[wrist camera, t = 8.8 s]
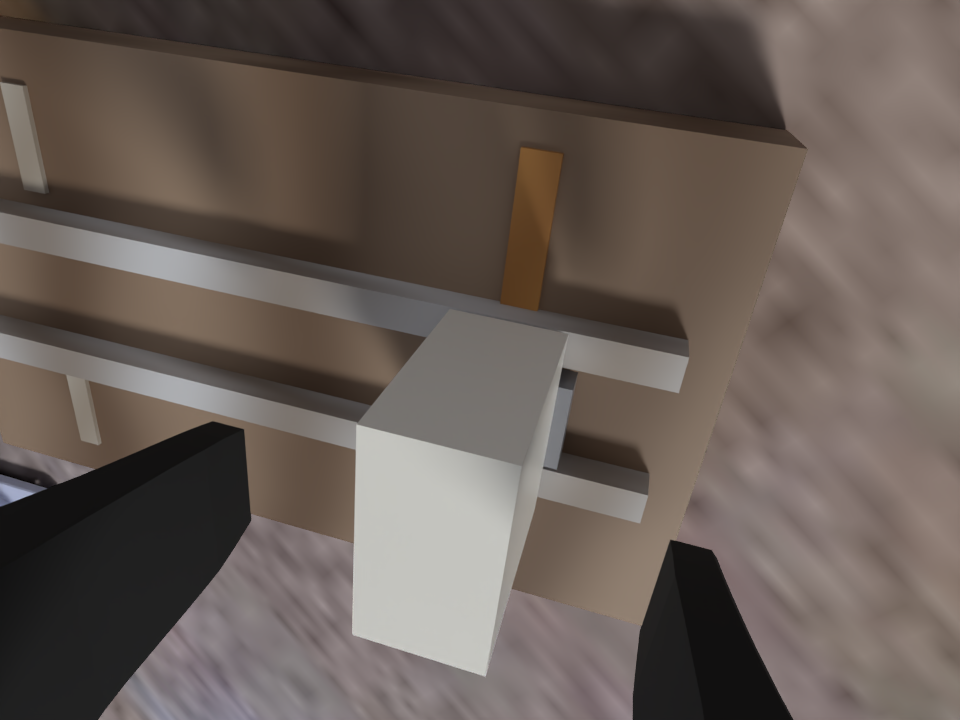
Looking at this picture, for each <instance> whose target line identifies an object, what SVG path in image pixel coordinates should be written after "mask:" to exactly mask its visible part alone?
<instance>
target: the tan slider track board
mask: <svg viewBox="0 0 960 720" xmlns="http://www.w3.org/2000/svg"><path fill="white" fill-rule="evenodd" d="M807 150H808V149H807V148H806V147H805V146H804V145H803V144H802V143H801V142H800V141H798V140H797V139H796V138H795V137H794V136H793V135H792V134H791V133H790V132H788V131H787V130H782V129H775V128H768V127H761V126H755V125H748V124H741V123H734V122H727V121H720V120H713V119H706V118H699V117H693V116H686V115H679V114H672V113H665V112H658V111H651V110H644V109H638V108H631V107H624V106H617V105H610V104H603V103H596V102H589V101H582V100H576V99H569V98H562V97H555V96H548V95H541V94H534V93H527V92H521V91H514V90H507V89H500V88H493V87H486V86H479V85H472V84H466V83H459V82H452V81H445V80H438V79H431V78H424V77H417V76H410V75H404V74H397V73H390V72H383V71H376V70H369V69H362V68H355V67H349V66H342V65H335V64H328V63H321V62H314V61H307V60H300V59H294V58H287V57H280V56H273V55H266V54H259V53H252V52H245V51H238V50H232V49H225V48H218V47H211V46H204V45H197V44H190V43H183V42H177V41H170V40H163V39H156V38H149V37H142V36H135V35H128V34H121V33H115V32H108V31H101V30H94V29H87V28H80V27H73V26H66V25H60V24H53V23H46V22H39V21H32V20H25V19H18V18H11V17H5V16H0V432H1V435H2V439H3V442H4V443H7V444H10V445H14V446H17V447H21V448H24V449H28V450H31V451H34V452H38V453H41V454H45V455H48V456H52V457H55V458H59V459H62V460H66V461H69V462H73V463H76V464H80V465H83V466H87V467H90V468H94V469H98V468H100V467H102V466H105V465H107V464H109V463H112V462H114V461H117V460H119V459H121V458H124V457H126V456H128V455H131V454H133V453H135V452H138V451H140V450H142V449H145V448H147V447H149V446H152V445H154V444H156V443H159V442H161V441H163V440H166V439H168V438H171V437H173V436H175V435H178V434H180V433H183V432H185V431H187V430H190V429H192V428H195V427H198V426H200V425H203V424H206V423H209V422H211V421H214V422H218V423H222V424H226V425H230V426H234V427H238V428H242V429H244V433H245V446H246V459H247V472H248V485H249V498H250V511H251V514H254V515H257V516H261V517H264V518H268V519H271V520H275V521H278V522H282V523H285V524H289V525H292V526H295V527H299V528H302V529H306V530H309V531H313V532H316V533H320V534H323V535H327V536H330V537H334V538H337V539H341V540H344V541H348V542H351V543H354V518H355V468H356V424H357V423H358V422H359V421H360V419H361V418H362V417H363V416H364V414H365V413H366V412H367V411H368V409H369V408H370V407H371V406H372V404H373V403H374V402H375V401H376V400H377V398H378V397H379V396H380V395H381V393H382V392H383V391H384V390H385V388H386V387H387V386H388V385H389V383H390V382H391V381H392V380H393V379H394V377H395V376H396V375H397V374H398V372H399V371H400V370H401V369H402V367H403V366H404V365H405V364H406V362H407V361H408V360H409V359H410V358H411V356H412V355H413V354H414V353H415V351H416V350H417V349H418V348H419V346H420V345H421V344H422V343H423V341H424V340H425V339H426V338H427V336H428V335H429V334H430V333H431V332H432V330H433V329H434V328H435V327H436V325H437V324H438V323H439V322H440V320H441V319H442V318H443V317H444V315H445V314H446V313H447V312H448V311H449V309H453V310H457V311H462V312H467V313H472V314H476V315H481V316H486V317H491V318H495V319H500V320H505V321H510V322H514V323H519V324H524V325H528V326H533V327H538V328H543V329H547V330H552V331H557V332H562V333H566V334H568V339H567V345H566V350H565V355H564V360H563V365H562V369H565V370H570V371H574V372H578V376H577V380H576V385H575V390H574V395H573V400H572V405H571V410H570V414H569V419H568V424H567V429H566V434H565V439H564V443H563V448H562V452H561V456H560V460H559V463H558V467H557V470H556V469H552V468H548V467H544V466H543V469H542V475H541V480H540V485H539V490H538V495H537V501H536V506H535V510H534V514H533V517H532V520H531V524H530V527H529V531H528V534H527V537H526V541H525V544H524V548H523V551H522V554H521V558H520V561H519V565H518V568H517V571H516V575H515V578H514V582H513V585H512V589H515V590H518V591H522V592H525V593H529V594H532V595H536V596H539V597H543V598H546V599H550V600H553V601H557V602H560V603H563V604H567V605H570V606H574V607H577V608H581V609H584V610H588V611H591V612H595V613H598V614H602V615H605V616H609V617H612V618H616V619H619V620H623V621H626V622H630V623H633V624H637V625H640V626H642V623H643V620H644V617H645V614H646V611H647V608H648V605H649V602H650V599H651V596H652V593H653V590H654V587H655V584H656V581H657V578H658V575H659V572H660V569H661V566H662V563H663V560H664V557H665V554H666V551H667V548H668V545H669V542H670V540H674V541H676V539H677V536H678V533H679V530H680V527H681V524H682V521H683V518H684V515H685V512H686V509H687V506H688V503H689V500H690V497H691V494H692V491H693V488H694V485H695V482H696V479H697V476H698V473H699V470H700V467H701V464H702V462H703V459H704V456H705V453H706V450H707V447H708V444H709V441H710V438H711V435H712V432H713V429H714V426H715V423H716V420H717V417H718V414H719V411H720V408H721V405H722V402H723V399H724V396H725V393H726V390H727V387H728V384H729V381H730V378H731V376H732V373H733V370H734V367H735V364H736V361H737V358H738V355H739V352H740V349H741V346H742V343H743V340H744V337H745V334H746V331H747V328H748V325H749V322H750V319H751V316H752V313H753V310H754V307H755V304H756V301H757V298H758V295H759V292H760V290H761V287H762V284H763V281H764V278H765V275H766V272H767V269H768V266H769V263H770V260H771V257H772V254H773V251H774V248H775V245H776V242H777V239H778V236H779V233H780V230H781V227H782V224H783V221H784V218H785V215H786V212H787V209H788V206H789V204H790V201H791V198H792V195H793V192H794V189H795V186H796V183H797V180H798V177H799V174H800V171H801V168H802V165H803V162H804V159H805V156H806V153H807Z"/></svg>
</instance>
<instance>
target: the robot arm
mask: <svg viewBox="0 0 960 720" xmlns="http://www.w3.org/2000/svg"><path fill="white" fill-rule="evenodd" d="M250 522H251V511H250V498H249V485H248V472H247V459H246V446H245V433H244V429H242V428H238V427H234V426H230V425H226V424H222V423H218V422H214V421H211V422H209V423H206V424H203V425H200V426H198V427H195V428H192V429H190V430H187V431H185V432H183V433H180V434H178V435H175V436H173V437H171V438H168V439H166V440H163V441H161V442H159V443H156V444H154V445H152V446H149V447H147V448H145V449H142V450H140V451H138V452H135V453H133V454H131V455H128V456H126V457H124V458H121V459H119V460H117V461H114V462H112V463H109V464H107V465H105V466H102V467H100V468H98V469H95V470H93V471H91V472H88V473H86V474H83V475H81V476H79V477H76V478H73V479H71V480H68V481H66V482H63V483H60V484H58V485H55V486H53V487H50V488H45V487H41V486H38V485H34V484H31V483H28V482H24V481H21V480H18V479H14V478H11V477H8V476H4V475H1V474H0V720H98V719H99V717H100V716H101V715H102V713H103V712H104V710H105V709H106V708H107V706H108V705H109V704H110V703H111V701H112V700H113V699H114V697H115V696H116V695H117V694H118V692H119V691H120V690H121V688H122V687H123V686H124V685H125V683H126V682H127V681H128V680H129V679H130V677H131V676H132V675H133V674H134V673H135V671H136V670H137V669H138V668H139V667H140V665H141V664H142V663H143V662H144V661H145V659H146V658H147V657H148V656H149V655H150V654H151V652H152V651H153V650H154V649H155V648H156V646H157V645H158V644H159V643H160V642H161V640H162V639H163V638H164V637H165V636H166V634H167V633H168V632H169V631H170V630H171V629H172V627H173V626H174V625H175V624H176V623H177V621H178V620H179V619H180V618H181V617H182V615H183V614H184V613H185V612H186V611H187V609H188V608H189V607H190V606H191V605H192V603H193V602H194V601H195V600H196V599H197V597H198V596H199V595H200V594H201V593H202V591H203V590H204V589H205V588H206V586H207V585H208V584H209V583H210V582H211V580H212V579H213V578H214V577H215V575H216V574H217V573H218V572H219V570H220V569H221V567H222V566H223V564H224V563H225V561H226V560H227V558H228V557H229V555H230V554H231V552H232V551H233V549H234V548H235V546H236V544H237V543H238V541H239V539H240V538H241V536H242V535H243V533H244V531H245V530H246V528H247V526H248V525H249V523H250ZM633 720H793V718H792V716H791V715H790V713H789V711H788V709H787V707H786V705H785V703H784V702H783V700H782V698H781V696H780V694H779V692H778V690H777V688H776V686H775V684H774V682H773V680H772V678H771V676H770V674H769V673H768V671H767V669H766V667H765V665H764V663H763V661H762V659H761V657H760V655H759V653H758V651H757V649H756V647H755V645H754V642H753V640H752V638H751V636H750V634H749V632H748V630H747V628H746V625H745V623H744V621H743V619H742V617H741V614H740V612H739V610H738V608H737V606H736V603H735V601H734V599H733V596H732V594H731V592H730V589H729V587H728V585H727V582H726V580H725V578H724V575H723V573H722V570H721V568H720V565H719V563H718V560H717V558H716V556H715V555H714V553H713V552H712V550H709V549H705V548H701V547H697V546H694V545H690V544H686V543H682V542H678V541H674V540H670V542H669V545H668V548H667V551H666V554H665V557H664V560H663V563H662V566H661V569H660V572H659V575H658V578H657V581H656V584H655V587H654V590H653V593H652V596H651V599H650V602H649V605H648V608H647V611H646V614H645V617H644V620H643V623H642V626H641V629H640V635H639V644H638V653H637V662H636V671H635V681H634V691H633Z"/></svg>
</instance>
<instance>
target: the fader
mask: <svg viewBox="0 0 960 720" xmlns="http://www.w3.org/2000/svg"><path fill="white" fill-rule="evenodd" d="M567 339H568V334H566V333H562V332H557V331H552V330H547V329H543V328H538V327H533V326H528V325H524V324H519V323H514V322H510V321H505V320H500V319H495V318H491V317H486V316H481V315H476V314H472V313H467V312H462V311H457V310H453V309H449V311H448V312H447V313H446V314H445V315H444V317H443V318H442V319H441V320H440V322H439V323H438V324H437V325H436V327H435V328H434V329H433V330H432V332H431V333H430V334H429V335H428V336H427V338H426V339H425V340H424V341H423V343H422V344H421V345H420V346H419V348H418V349H417V350H416V351H415V353H414V354H413V355H412V356H411V358H410V359H409V360H408V361H407V362H406V364H405V365H404V366H403V367H402V369H401V370H400V371H399V372H398V374H397V375H396V376H395V377H394V379H393V380H392V381H391V382H390V383H389V385H388V386H387V387H386V388H385V390H384V391H383V392H382V393H381V395H380V396H379V397H378V398H377V400H376V401H375V402H374V403H373V404H372V406H371V407H370V408H369V409H368V411H367V412H366V413H365V414H364V416H363V417H362V418H361V419H360V421H359V422H358V423H357V424H356V468H355V518H354V568H353V618H352V635H355V636H358V637H361V638H365V639H368V640H371V641H374V642H377V643H380V644H384V645H387V646H390V647H393V648H396V649H400V650H403V651H406V652H409V653H412V654H415V655H419V656H422V657H425V658H428V659H431V660H434V661H438V662H441V663H444V664H447V665H450V666H454V667H457V668H460V669H463V670H466V671H469V672H473V673H476V674H479V675H482V676H485V677H486V674H487V670H488V667H489V663H490V660H491V657H492V653H493V650H494V646H495V643H496V640H497V636H498V633H499V629H500V626H501V623H502V619H503V616H504V612H505V609H506V606H507V602H508V599H509V595H510V592H511V589H512V585H513V582H514V578H515V575H516V571H517V568H518V565H519V561H520V558H521V554H522V551H523V548H524V544H525V541H526V537H527V534H528V531H529V527H530V524H531V520H532V517H533V514H534V510H535V506H536V501H537V495H538V490H539V485H540V480H541V475H542V469H543V466H544V467H548V468H552V469H556V470H557V467H558V463H559V460H560V456H561V452H562V448H563V443H564V439H565V434H566V429H567V424H568V419H569V414H570V410H571V405H572V400H573V395H574V390H575V385H576V380H577V376H578V372H574V371H570V370H565V369H562V365H563V360H564V355H565V350H566V345H567Z"/></svg>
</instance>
